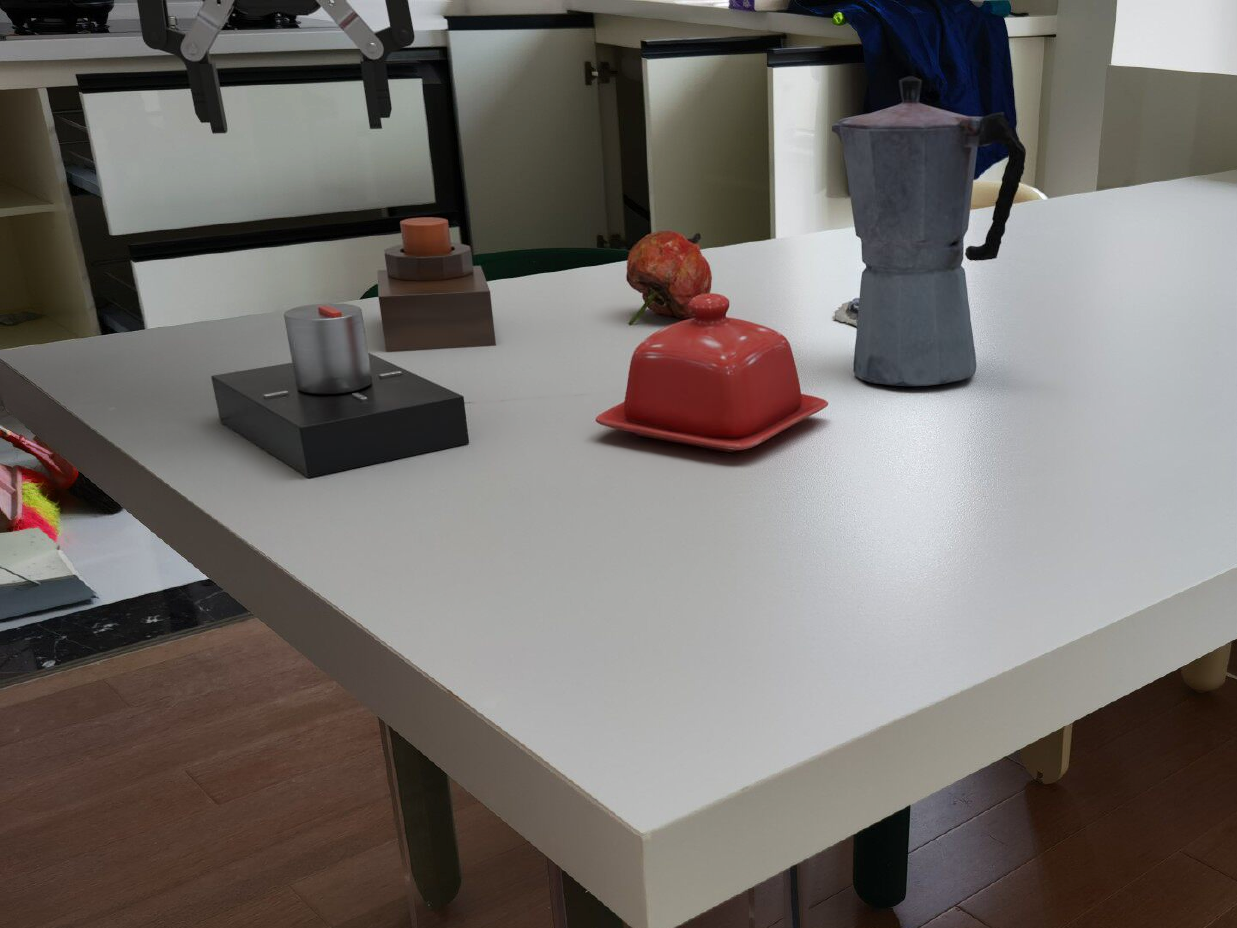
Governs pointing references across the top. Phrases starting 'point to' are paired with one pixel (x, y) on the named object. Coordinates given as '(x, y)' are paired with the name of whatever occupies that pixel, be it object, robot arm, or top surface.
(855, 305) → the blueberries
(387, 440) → the panel
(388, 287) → the control block
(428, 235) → the button
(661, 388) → the butter dish
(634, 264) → the pomegranate
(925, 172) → the moka pot
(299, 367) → the hob knob
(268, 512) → the top surface
